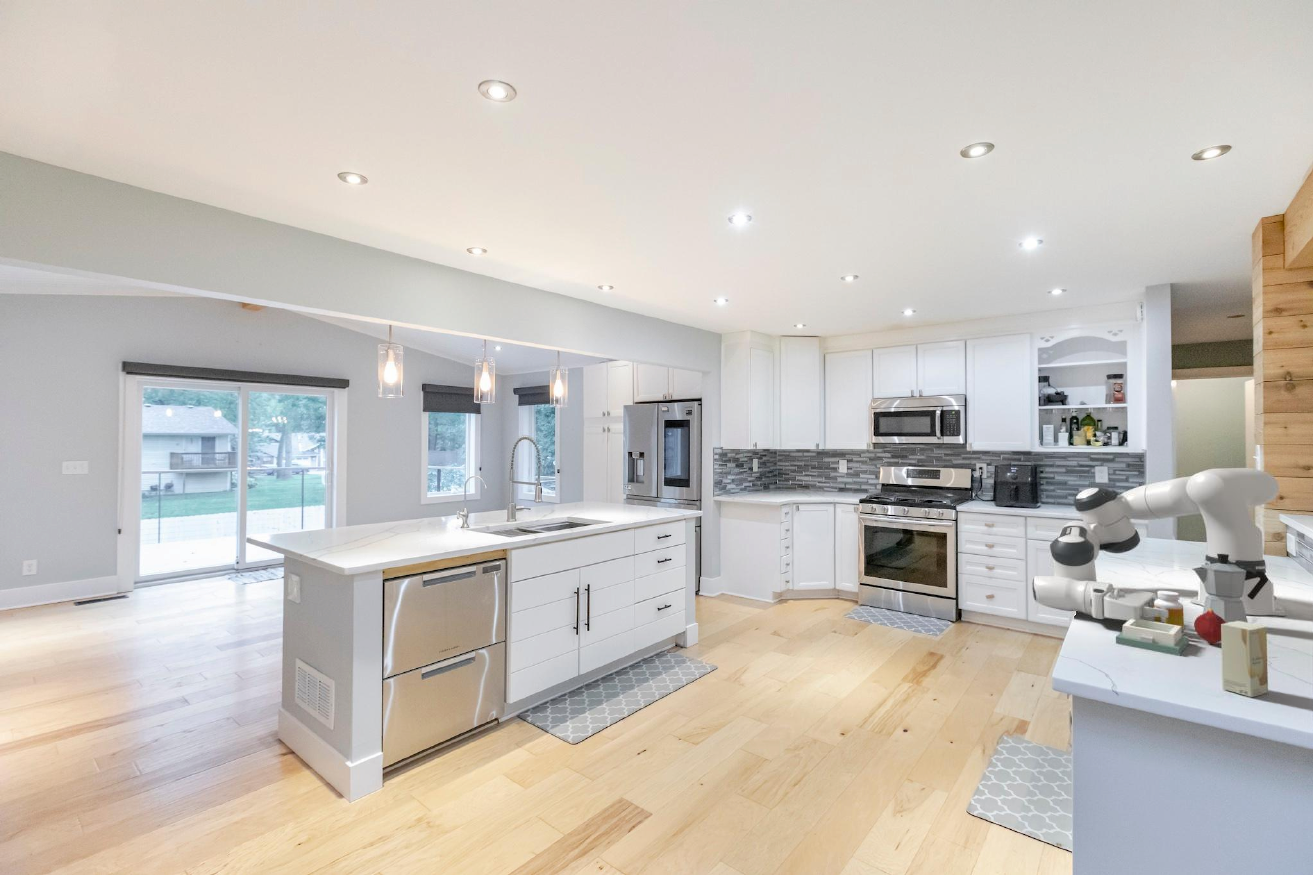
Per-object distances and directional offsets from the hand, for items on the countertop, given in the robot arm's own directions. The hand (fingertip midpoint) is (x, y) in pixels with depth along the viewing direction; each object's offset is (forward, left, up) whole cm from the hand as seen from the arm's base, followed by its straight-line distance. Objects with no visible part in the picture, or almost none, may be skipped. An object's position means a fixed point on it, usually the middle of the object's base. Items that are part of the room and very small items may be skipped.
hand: (1172, 610), depth 143 cm
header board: (+13, -2, -6) cm, 14 cm away
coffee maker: (-18, +8, -6) cm, 21 cm away
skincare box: (+34, +15, -6) cm, 38 cm away
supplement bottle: (0, -1, -6) cm, 6 cm away
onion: (+4, +7, -6) cm, 10 cm away
